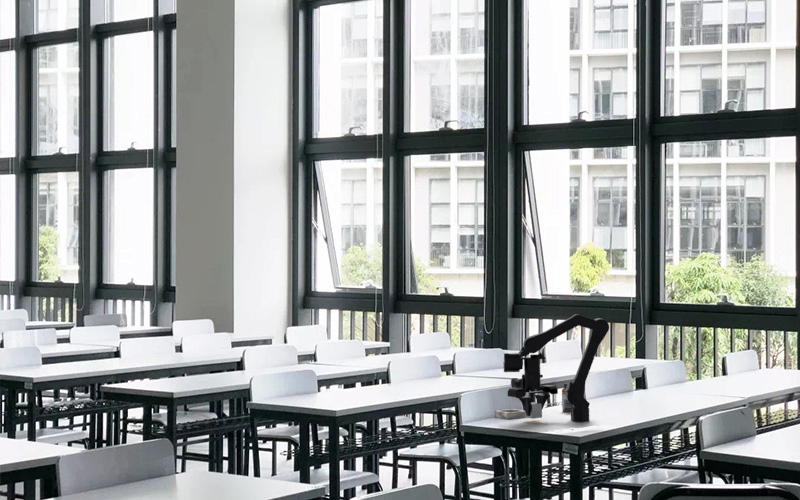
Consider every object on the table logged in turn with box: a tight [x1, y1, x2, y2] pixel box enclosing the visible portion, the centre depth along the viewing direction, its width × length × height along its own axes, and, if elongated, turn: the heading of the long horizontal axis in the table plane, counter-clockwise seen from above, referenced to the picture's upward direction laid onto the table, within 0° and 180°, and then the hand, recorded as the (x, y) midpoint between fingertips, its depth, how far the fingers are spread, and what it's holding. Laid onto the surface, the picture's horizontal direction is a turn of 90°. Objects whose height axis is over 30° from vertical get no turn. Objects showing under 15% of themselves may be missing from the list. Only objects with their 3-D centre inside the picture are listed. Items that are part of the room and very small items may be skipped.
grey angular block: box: [525, 401, 543, 420], centre depth 381 cm, size 4×4×5 cm
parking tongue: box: [520, 419, 547, 425], centre depth 381 cm, size 7×7×2 cm
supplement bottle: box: [561, 382, 573, 413], centre depth 416 cm, size 6×6×11 cm
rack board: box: [492, 408, 526, 420], centre depth 393 cm, size 18×12×4 cm, turn 30°
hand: (533, 415), depth 381 cm, fingers closed on grey angular block, 4 cm apart
